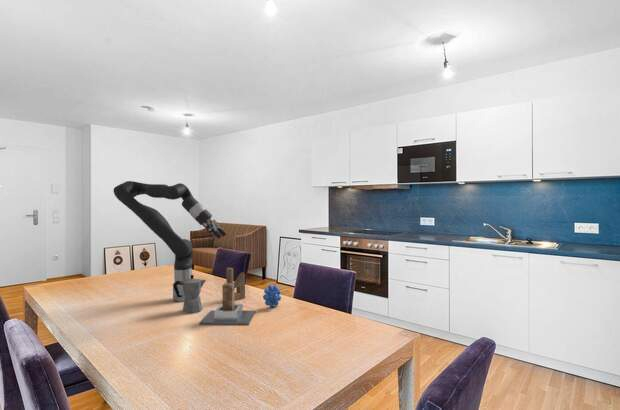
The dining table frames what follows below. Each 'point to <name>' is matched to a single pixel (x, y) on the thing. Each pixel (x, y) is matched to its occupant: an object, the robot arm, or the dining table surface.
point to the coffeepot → (190, 294)
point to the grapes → (272, 296)
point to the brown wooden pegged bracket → (237, 283)
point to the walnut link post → (228, 296)
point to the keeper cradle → (228, 316)
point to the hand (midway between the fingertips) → (222, 236)
